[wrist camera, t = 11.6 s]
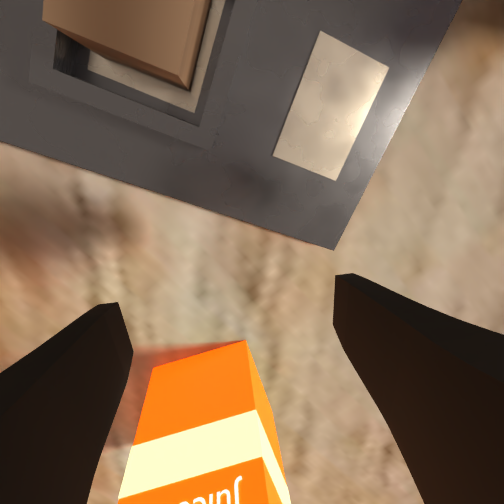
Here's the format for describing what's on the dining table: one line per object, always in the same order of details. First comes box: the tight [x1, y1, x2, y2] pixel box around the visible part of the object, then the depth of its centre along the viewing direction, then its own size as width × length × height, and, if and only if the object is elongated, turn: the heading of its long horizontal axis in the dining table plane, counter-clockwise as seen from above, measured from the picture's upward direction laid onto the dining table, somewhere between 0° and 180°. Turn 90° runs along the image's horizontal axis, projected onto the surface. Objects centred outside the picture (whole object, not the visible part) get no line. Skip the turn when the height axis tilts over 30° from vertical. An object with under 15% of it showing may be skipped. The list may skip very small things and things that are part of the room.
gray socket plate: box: [0, 0, 462, 251], centre depth 13 cm, size 22×14×3 cm, turn 69°
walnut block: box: [42, 0, 212, 92], centre depth 10 cm, size 4×4×5 cm
